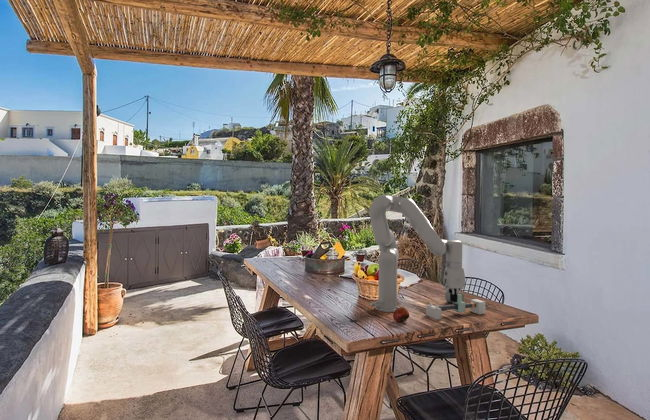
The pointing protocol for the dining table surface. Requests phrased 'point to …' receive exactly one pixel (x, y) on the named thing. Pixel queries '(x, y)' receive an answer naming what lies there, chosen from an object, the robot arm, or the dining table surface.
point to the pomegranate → (400, 314)
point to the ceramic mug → (447, 296)
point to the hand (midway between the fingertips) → (453, 301)
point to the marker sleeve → (459, 304)
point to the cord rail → (475, 306)
